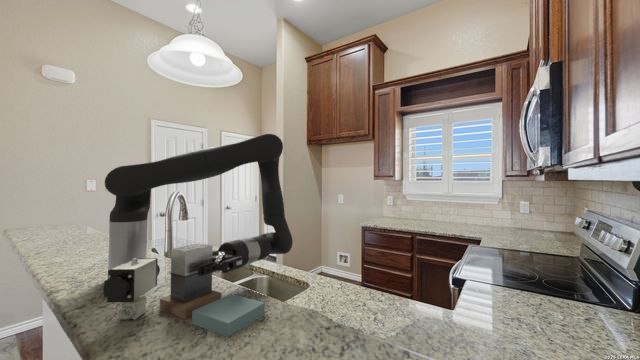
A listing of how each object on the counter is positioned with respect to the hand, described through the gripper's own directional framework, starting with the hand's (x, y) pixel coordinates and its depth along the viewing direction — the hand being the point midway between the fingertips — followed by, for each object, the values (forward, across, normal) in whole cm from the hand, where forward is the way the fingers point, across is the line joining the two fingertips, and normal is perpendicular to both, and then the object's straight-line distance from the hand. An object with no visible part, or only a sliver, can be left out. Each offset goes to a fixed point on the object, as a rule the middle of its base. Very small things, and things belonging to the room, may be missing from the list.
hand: (186, 268), depth 60 cm
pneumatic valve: (+8, -7, +9) cm, 14 cm away
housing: (-2, 0, +6) cm, 7 cm away
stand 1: (-2, 0, +9) cm, 9 cm away
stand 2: (-1, +12, +9) cm, 15 cm away
